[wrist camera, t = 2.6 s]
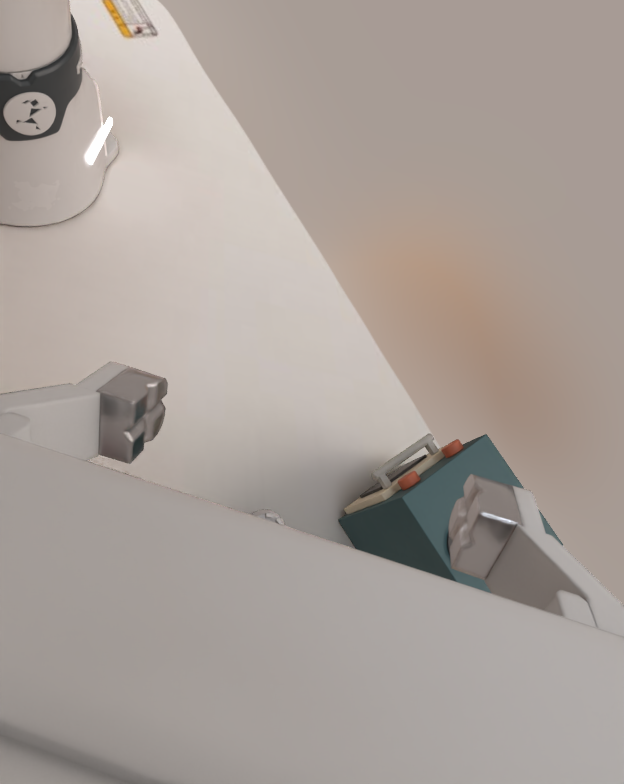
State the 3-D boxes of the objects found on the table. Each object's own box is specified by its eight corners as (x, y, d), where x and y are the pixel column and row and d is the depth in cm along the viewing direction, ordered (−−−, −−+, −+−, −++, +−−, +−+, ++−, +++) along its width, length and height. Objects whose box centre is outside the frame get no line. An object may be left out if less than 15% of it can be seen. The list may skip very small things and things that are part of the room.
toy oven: (324, 498, 46) (384, 468, 35) (397, 448, 50) (471, 408, 39) (399, 619, 44) (487, 626, 33) (468, 556, 48) (565, 544, 38)
